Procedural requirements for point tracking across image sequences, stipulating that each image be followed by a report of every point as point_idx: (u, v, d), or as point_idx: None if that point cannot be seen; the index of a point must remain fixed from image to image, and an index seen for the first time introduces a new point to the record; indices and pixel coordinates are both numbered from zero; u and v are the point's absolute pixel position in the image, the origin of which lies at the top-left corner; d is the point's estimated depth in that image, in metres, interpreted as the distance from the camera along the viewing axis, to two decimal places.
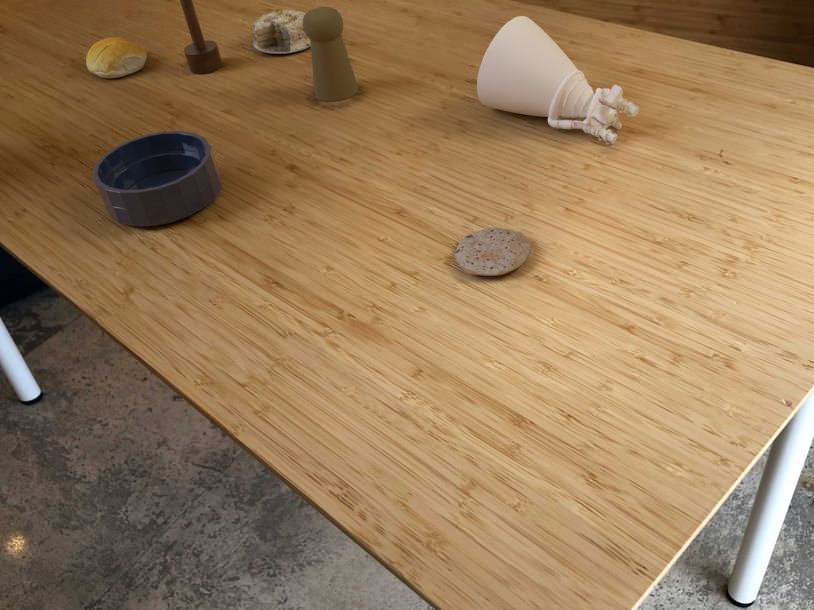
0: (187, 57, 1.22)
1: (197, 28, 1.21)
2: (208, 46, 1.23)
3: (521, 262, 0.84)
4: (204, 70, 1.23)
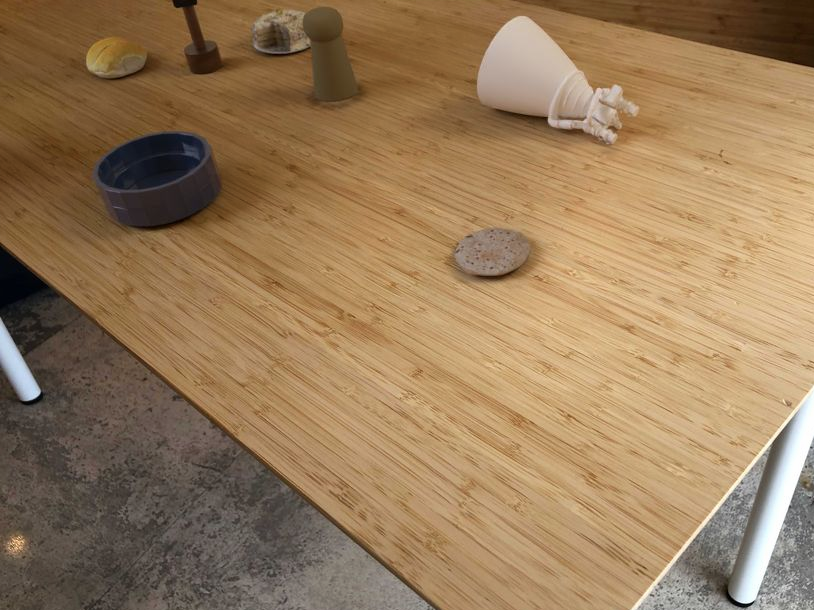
0: (187, 57, 1.22)
1: (197, 28, 1.21)
2: (208, 46, 1.23)
3: (521, 262, 0.84)
4: (204, 70, 1.23)
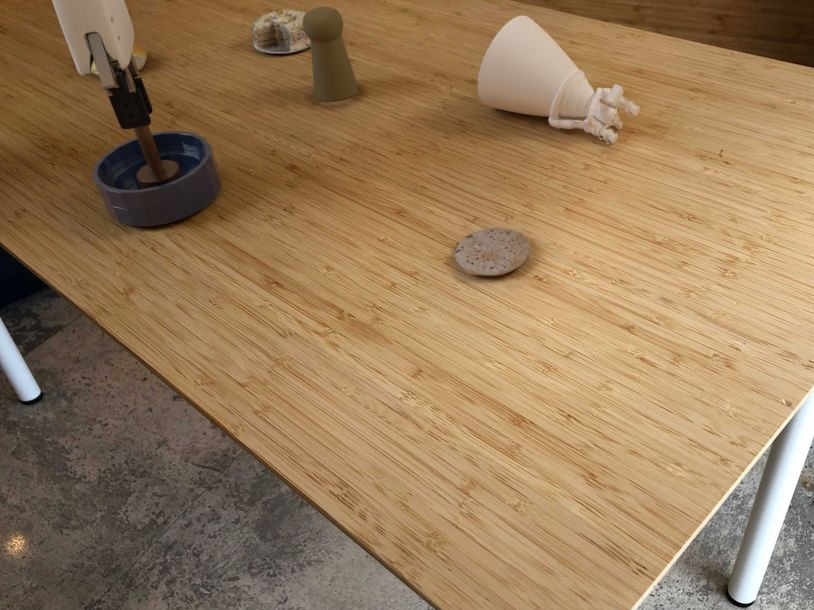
0: (140, 184, 0.96)
1: (152, 150, 0.95)
2: (167, 169, 0.97)
3: (521, 262, 0.84)
4: None
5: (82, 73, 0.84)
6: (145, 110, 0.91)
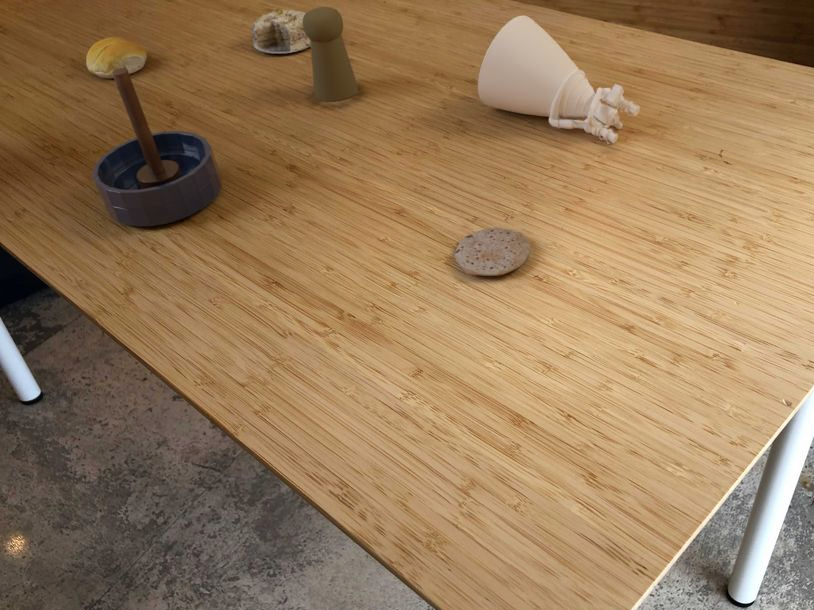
0: (140, 184, 0.96)
1: (152, 150, 0.95)
2: (167, 169, 0.97)
3: (521, 262, 0.84)
4: None
5: None
6: None
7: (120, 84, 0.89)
